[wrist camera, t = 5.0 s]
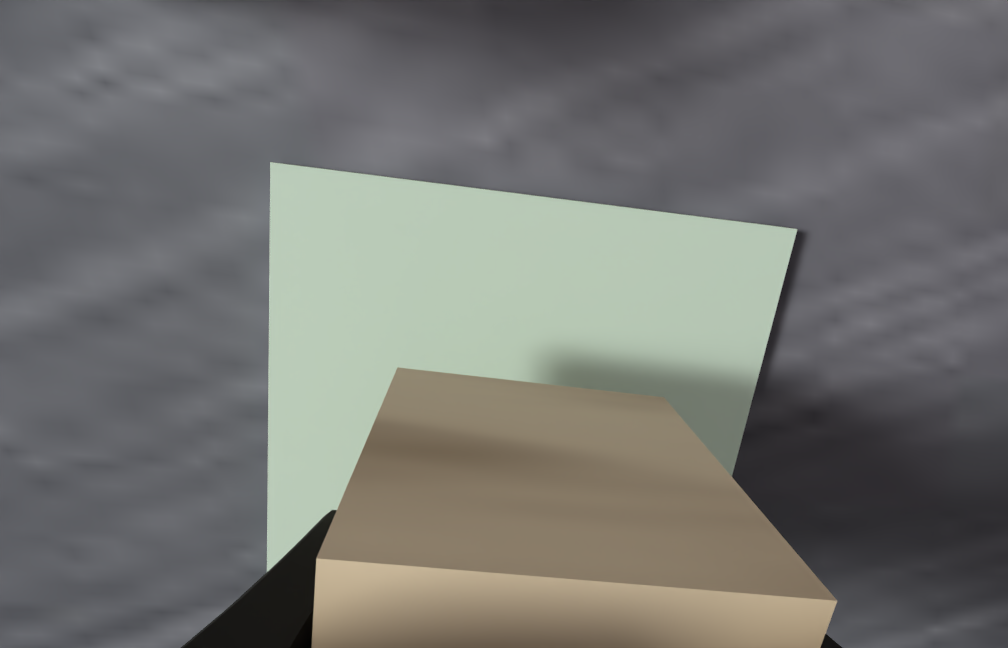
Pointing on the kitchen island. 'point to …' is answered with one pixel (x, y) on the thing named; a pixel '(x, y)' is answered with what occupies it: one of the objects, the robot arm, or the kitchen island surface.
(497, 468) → the cube
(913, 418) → the kitchen island surface
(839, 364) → the kitchen island surface
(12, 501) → the kitchen island surface
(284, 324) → the mat
